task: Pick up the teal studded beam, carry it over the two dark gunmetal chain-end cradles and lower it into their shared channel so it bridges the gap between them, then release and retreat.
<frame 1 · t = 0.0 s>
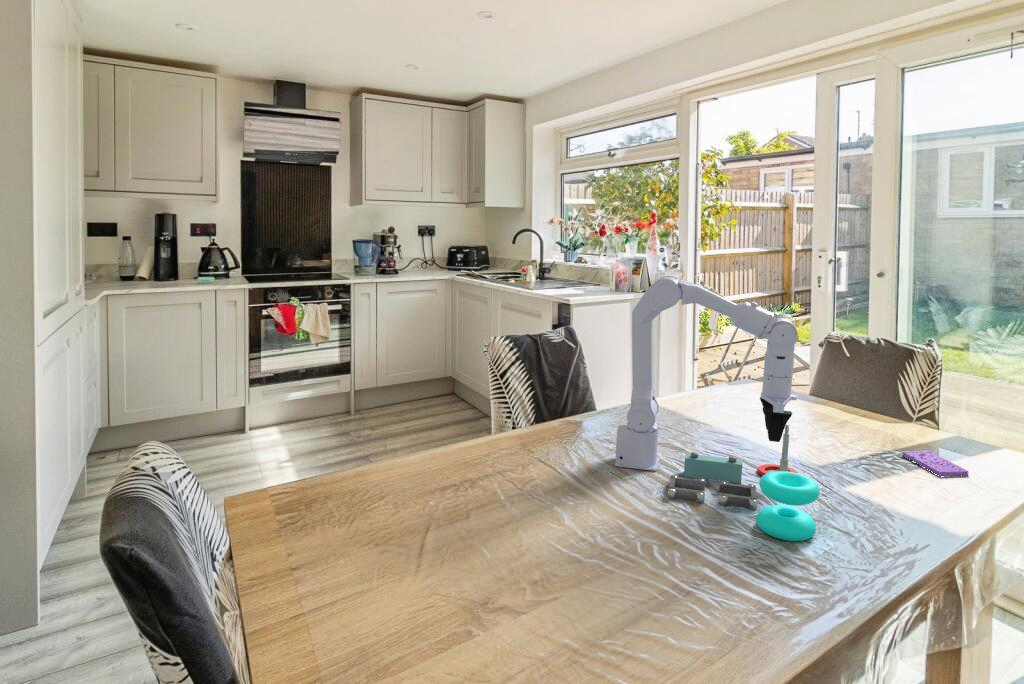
hand: (772, 435, 134), 10 cm above the table, tool pointing down, fingers open, 7 cm apart
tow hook: (777, 476, 138), on the table
chain end 1: (686, 492, 129), on the table
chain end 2: (737, 499, 126), on the table
donuts: (784, 531, 113), on the table
teal studded beam: (712, 478, 137), on the table
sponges: (933, 468, 143), on the table
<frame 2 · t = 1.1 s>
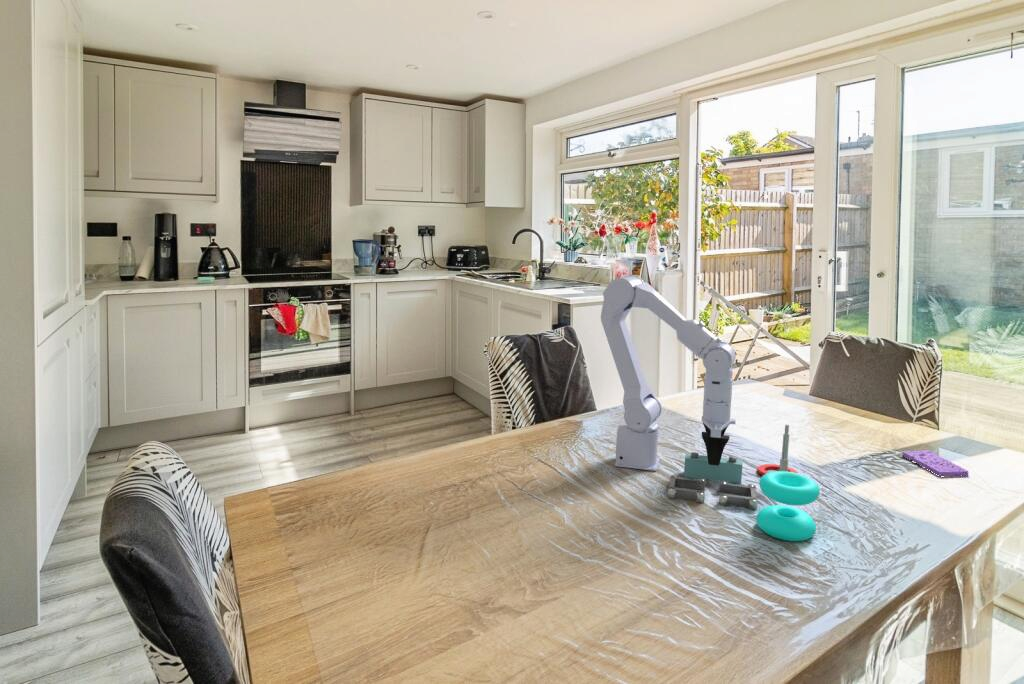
hand: (713, 458, 136), 4 cm above the table, tool pointing down, fingers open, 7 cm apart
nothing on the table moved.
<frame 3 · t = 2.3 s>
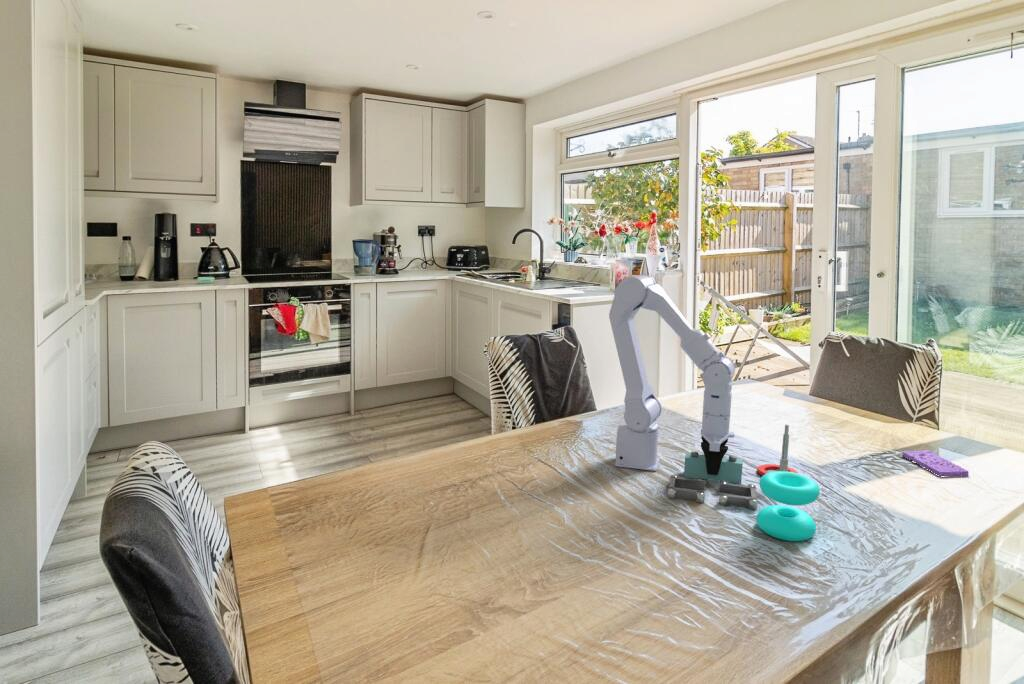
hand: (712, 471, 137), 1 cm above the table, tool pointing down, fingers closed on teal studded beam, 3 cm apart
teal studded beam: (712, 477, 137), on the table, touching gripper
everything else where it was.
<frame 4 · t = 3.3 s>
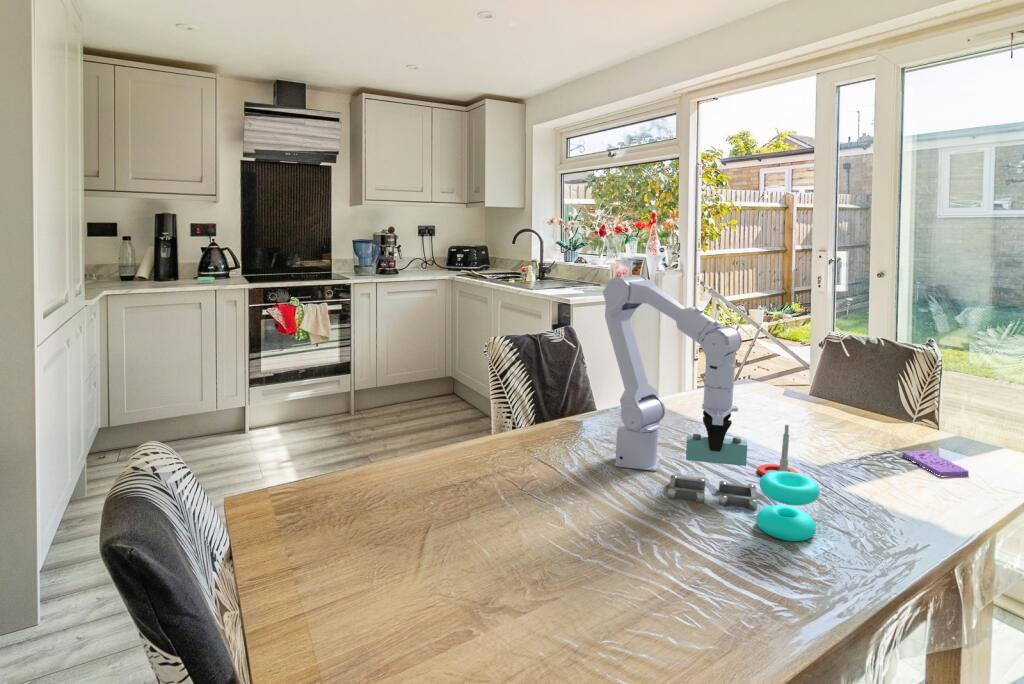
hand: (715, 447, 130), 9 cm above the table, tool pointing down, fingers closed on teal studded beam, 3 cm apart
teal studded beam: (715, 460, 130), point 6 cm above the table, touching gripper
everything else where it was.
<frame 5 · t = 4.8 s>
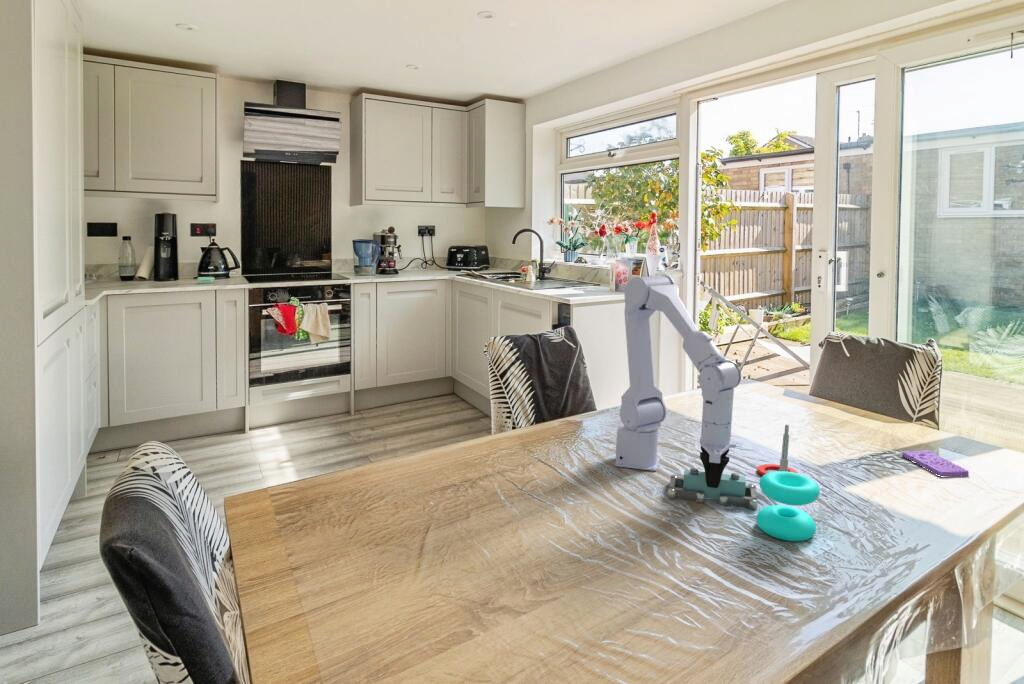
hand: (712, 483, 127), 3 cm above the table, tool pointing down, fingers closed on teal studded beam, 3 cm apart
teal studded beam: (713, 496, 127), resting in chain end 1, touching gripper
everything else where it was.
when the fingers open (3 cm above the table, at t = 4.8 s): teal studded beam stays where it is, resting in chain end 1.
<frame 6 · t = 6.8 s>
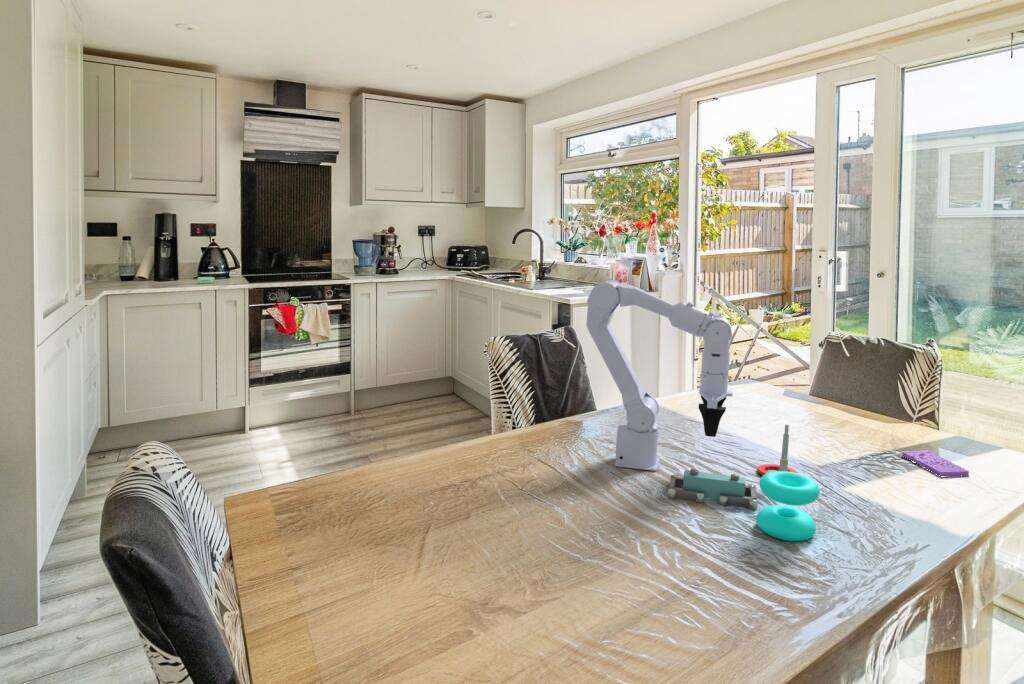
hand: (710, 430, 138), 10 cm above the table, tool pointing down, fingers open, 7 cm apart
teal studded beam: (712, 496, 128), resting in chain end 1
everything else where it was.
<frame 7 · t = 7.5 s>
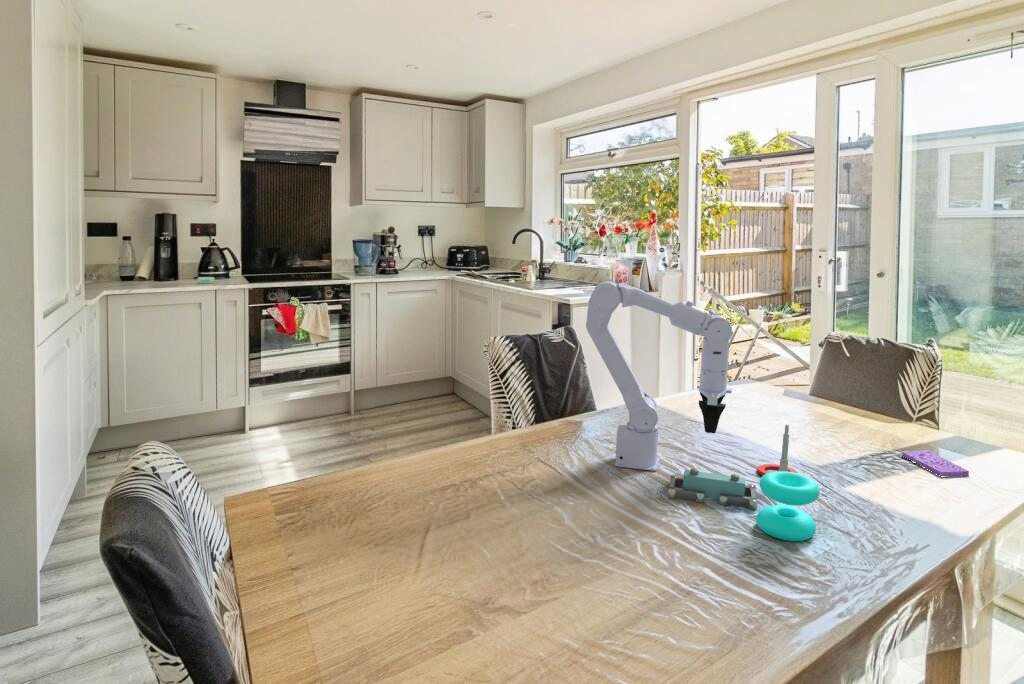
hand: (710, 427, 140), 10 cm above the table, tool pointing down, fingers open, 7 cm apart
nothing on the table moved.
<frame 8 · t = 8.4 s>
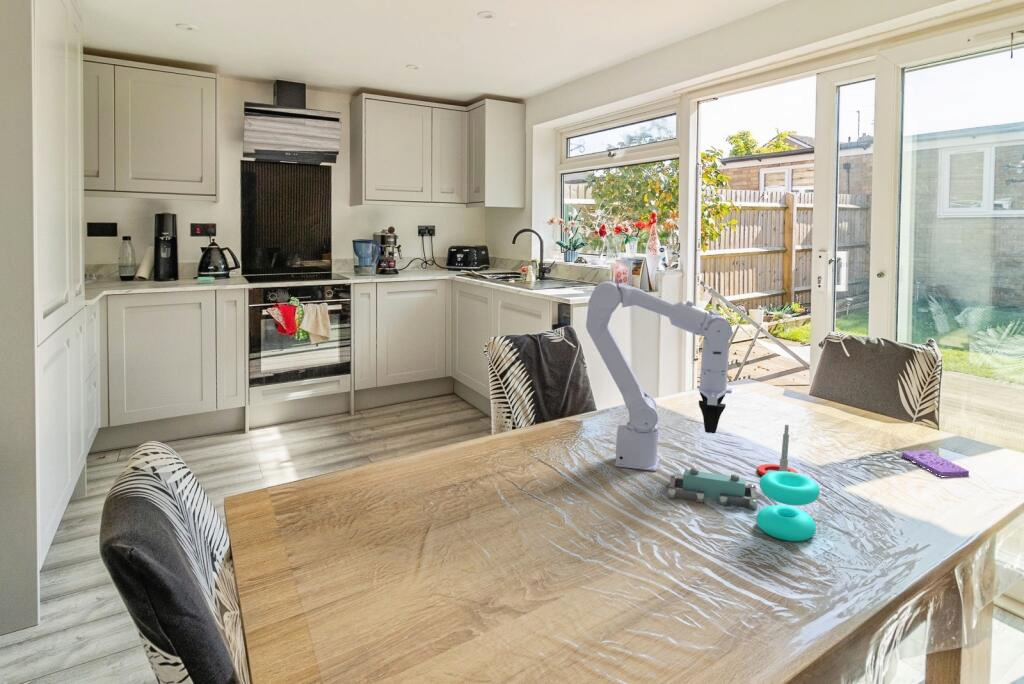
hand: (710, 427, 140), 10 cm above the table, tool pointing down, fingers open, 7 cm apart
nothing on the table moved.
at the end: teal studded beam 0.3 cm from the target spot, resting in chain end 1; teal studded beam tilted 0°; the gripper is holding nothing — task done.
